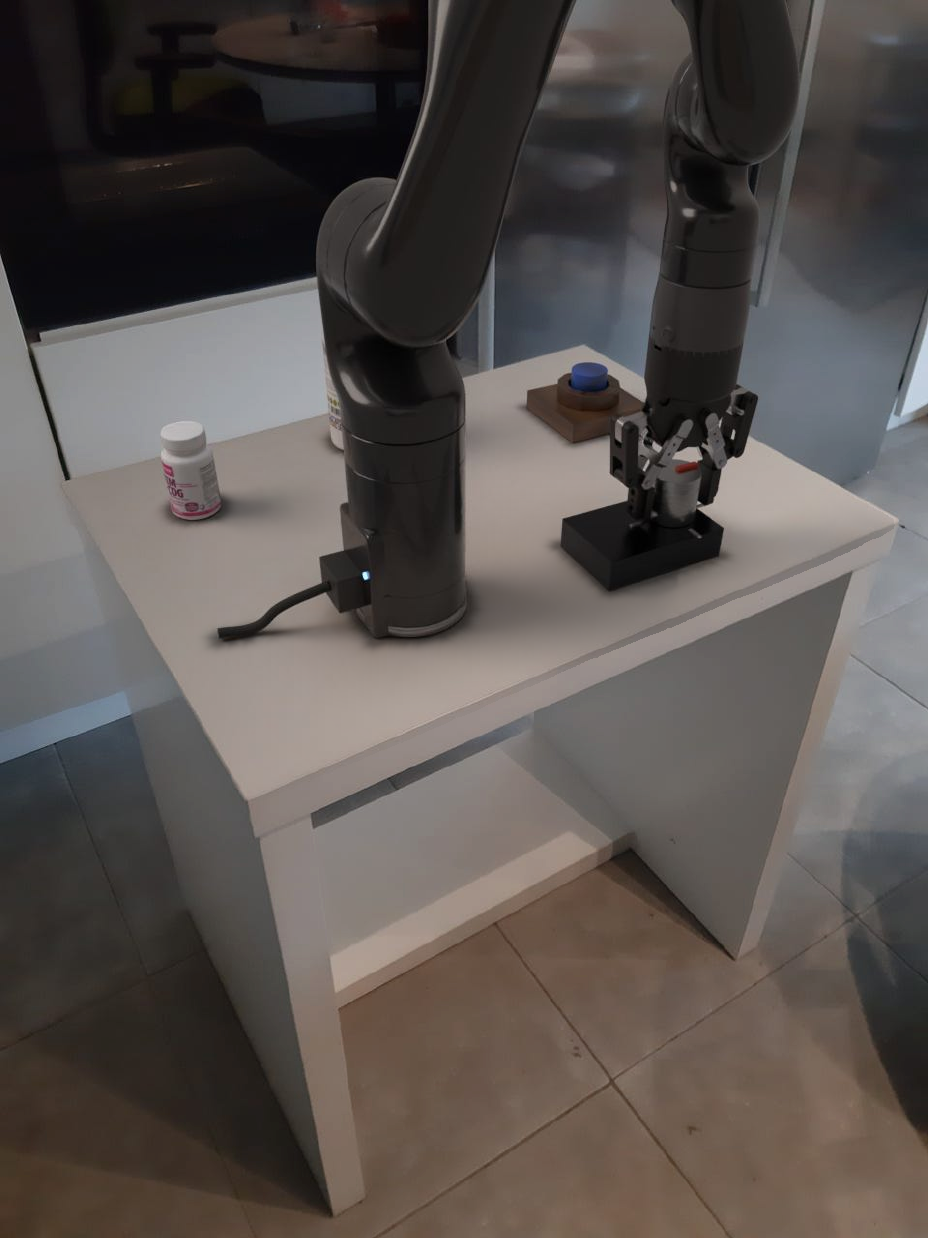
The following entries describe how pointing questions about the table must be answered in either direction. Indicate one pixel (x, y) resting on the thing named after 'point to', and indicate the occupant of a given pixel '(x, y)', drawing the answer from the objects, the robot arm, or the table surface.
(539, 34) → the robot arm
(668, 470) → the knob
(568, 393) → the button block
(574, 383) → the button
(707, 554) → the panel
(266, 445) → the table surface
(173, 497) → the pill bottle
